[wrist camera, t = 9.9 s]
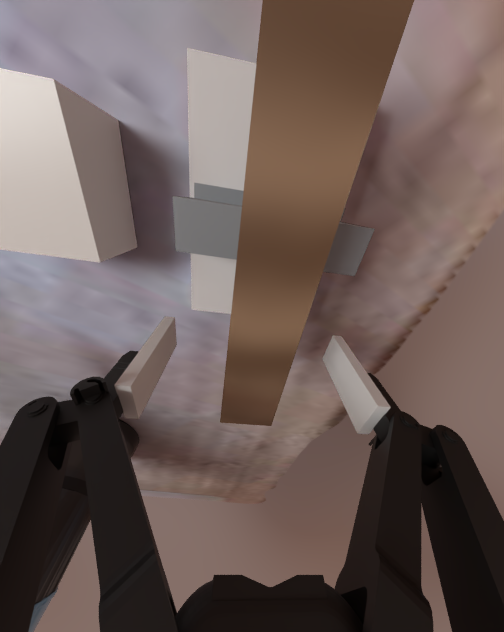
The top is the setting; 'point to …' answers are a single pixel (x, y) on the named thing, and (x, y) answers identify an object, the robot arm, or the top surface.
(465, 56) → the top surface
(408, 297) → the top surface
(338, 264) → the ridge stand
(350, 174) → the walnut rod
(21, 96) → the block
